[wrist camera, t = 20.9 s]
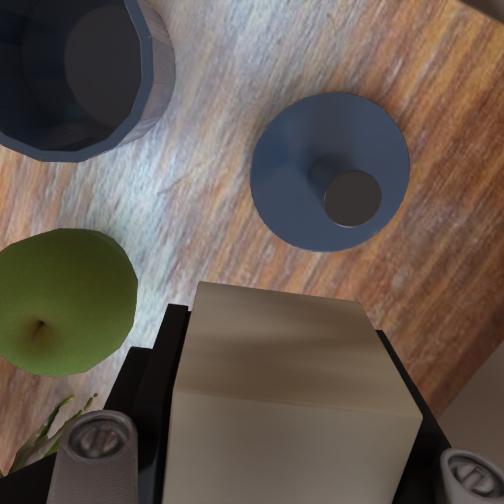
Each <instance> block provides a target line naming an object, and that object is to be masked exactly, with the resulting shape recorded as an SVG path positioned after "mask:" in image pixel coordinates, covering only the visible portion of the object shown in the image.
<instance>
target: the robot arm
mask: <svg viewBox="0 0 504 504" xmlns="http://www.w3.org/2000/svg"><path fill="white" fill-rule="evenodd" d="M191 312H192V311H188V306H185V305H177V304H168V306H167V309H166V312H165V315H164V318H163V321H162V323H161V326H160V329H159V332H158V335H157V338H156V340H155V343H154V346H153V349H150V348H141V347H133V346H132V347H131V348H130V350H129V352H128V354H127V356H126V358H125V361H124V363H123V365H122V367H121V370H120V372H119V374H118V376H117V379H116V381H115V383H114V385H113V388H112V390H111V392H110V394H109V397H108V399H107V401H106V403H105V406H104V408H103V410H98V411H92V412H89V413H86V414H83V415H81V416H79V417H77V418H76V419H74V420H73V421H71V422H70V423H69V424H68V426H67V427H66V428H65V429H64V431H63V433H62V435H61V438H60V442H59V446H58V451H56V452H54V453H52V454H50V455H48V456H46V457H44V458H42V459H40V460H38V461H36V462H34V463H32V464H30V465H27V466H25V467H23V468H21V469H19V470H17V471H15V472H13V473H11V474H9V475H7V476H5V477H3V478H1V479H0V504H161V499H162V490H163V480H164V471H165V461H166V452H167V443H168V433H169V424H170V415H171V405H172V396H173V388H174V384H175V380H176V375H177V371H178V367H179V363H180V359H181V354H182V350H183V346H184V342H185V337H186V333H187V329H188V325H189V320H190V316H191ZM375 331H376V333H377V334H378V336H379V338H380V340H381V342H382V344H383V345H384V347H385V349H386V351H387V353H388V354H389V356H390V358H391V360H392V362H393V363H394V365H395V367H396V369H397V371H398V372H399V374H400V376H401V378H402V380H403V381H404V383H405V385H406V387H407V389H408V390H409V392H410V394H411V396H412V398H413V399H414V401H415V403H416V405H417V407H418V408H419V410H420V412H421V414H422V417H423V419H422V422H421V425H420V427H419V430H418V433H417V436H416V438H415V441H414V444H413V447H412V449H411V452H410V455H409V457H408V460H407V463H406V466H405V468H404V471H403V474H402V476H401V479H400V482H399V485H398V487H397V490H396V493H395V495H394V498H393V501H392V504H504V472H503V471H502V470H501V469H500V468H499V467H498V466H497V465H496V464H495V463H493V462H492V461H491V460H489V459H488V458H486V457H484V456H483V455H481V454H479V453H477V452H474V451H472V450H469V449H465V448H459V447H455V448H452V447H451V445H450V443H449V442H448V440H447V438H446V437H445V435H444V433H443V431H442V430H441V428H440V426H439V425H438V423H437V421H436V419H435V418H434V416H433V414H432V413H431V411H430V409H429V408H428V406H427V404H426V402H425V401H424V399H423V397H422V396H421V394H420V392H419V390H418V389H417V387H416V385H415V384H414V383H413V381H412V380H411V378H410V376H409V375H408V373H407V371H406V369H405V368H404V366H403V364H402V363H401V361H400V359H399V357H398V356H397V354H396V352H395V351H394V349H393V347H392V345H391V344H390V342H389V340H388V339H387V337H386V335H385V333H384V332H383V331H382V330H376V329H375Z"/></svg>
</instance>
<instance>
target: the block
mask: <svg viewBox="0 0 504 504" xmlns="http://www.w3.org/2000/svg"><path fill="white" fill-rule="evenodd" d="M422 419H423V417H422V414H421V412H420V410H419V408H418V407H417V405H416V403H415V401H414V399H413V398H412V396H411V394H410V392H409V390H408V389H407V387H406V385H405V383H404V381H403V380H402V378H401V376H400V374H399V372H398V371H397V369H396V367H395V365H394V363H393V362H392V360H391V358H390V356H389V354H388V353H387V351H386V349H385V347H384V345H383V344H382V342H381V340H380V338H379V336H378V334H377V333H376V331H375V329H374V327H373V325H372V324H371V322H370V320H369V318H368V316H367V315H366V313H365V311H364V309H363V307H362V306H361V304H360V302H356V301H349V300H341V299H333V298H326V297H318V296H310V295H303V294H295V293H287V292H279V291H272V290H264V289H256V288H249V287H241V286H233V285H226V284H218V283H210V282H203V281H200V282H199V283H198V286H197V291H196V295H195V299H194V303H193V308H192V312H191V316H190V320H189V325H188V329H187V333H186V337H185V342H184V346H183V350H182V354H181V359H180V363H179V367H178V371H177V375H176V380H175V384H174V388H173V396H172V405H171V415H170V424H169V433H168V443H167V452H166V461H165V471H164V480H163V490H162V499H161V504H392V501H393V498H394V495H395V493H396V490H397V487H398V485H399V482H400V479H401V476H402V474H403V471H404V468H405V466H406V463H407V460H408V457H409V455H410V452H411V449H412V447H413V444H414V441H415V438H416V436H417V433H418V430H419V427H420V425H421V422H422Z"/></svg>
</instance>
